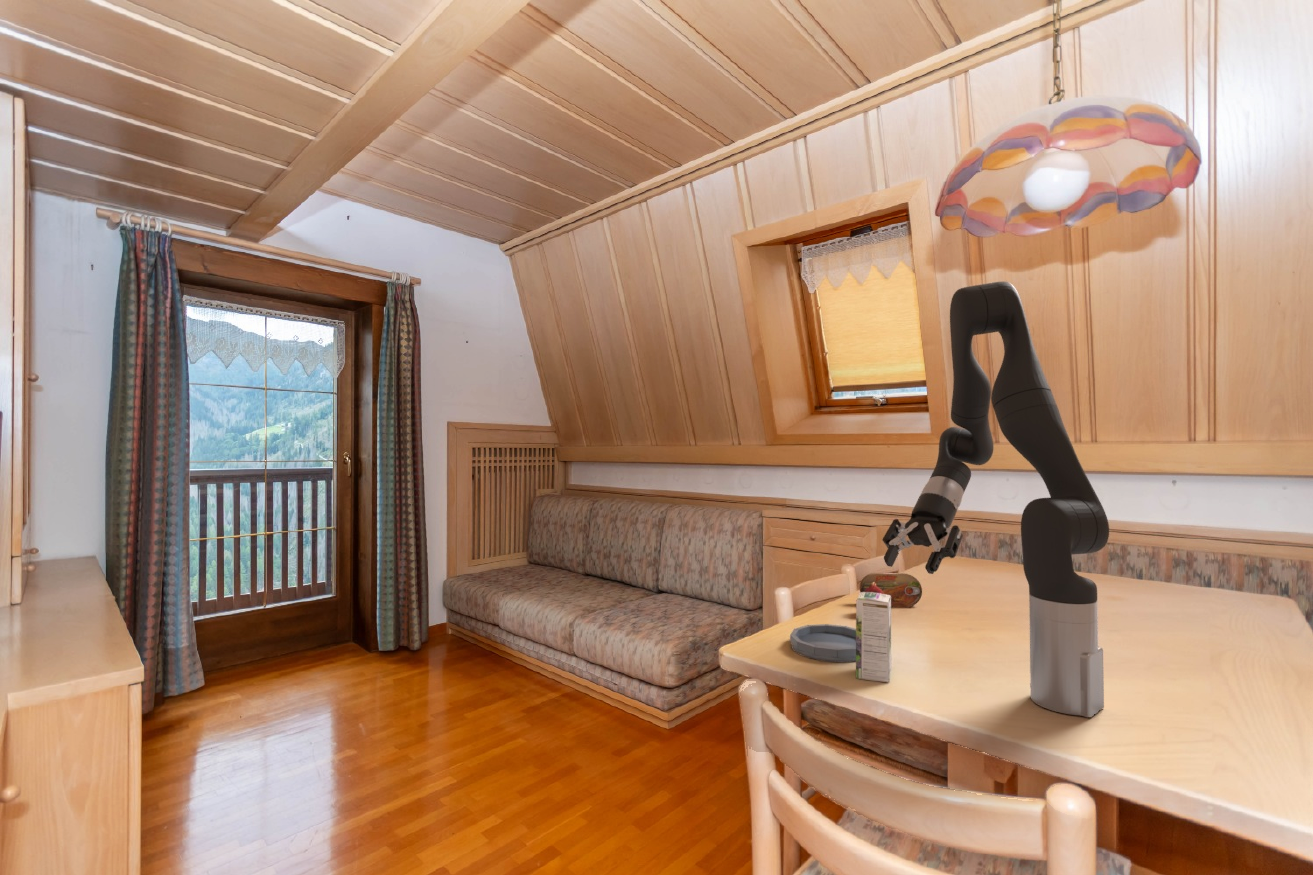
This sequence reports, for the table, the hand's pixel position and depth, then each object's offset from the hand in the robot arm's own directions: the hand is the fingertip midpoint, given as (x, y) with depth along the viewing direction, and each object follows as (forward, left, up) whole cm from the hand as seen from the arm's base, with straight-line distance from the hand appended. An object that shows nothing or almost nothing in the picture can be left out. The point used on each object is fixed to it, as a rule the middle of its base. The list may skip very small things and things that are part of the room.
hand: (907, 567), depth 120 cm
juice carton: (0, +11, -18) cm, 22 cm away
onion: (+22, -22, -18) cm, 36 cm away
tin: (+25, -33, -18) cm, 45 cm away
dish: (+14, +5, -18) cm, 23 cm away
